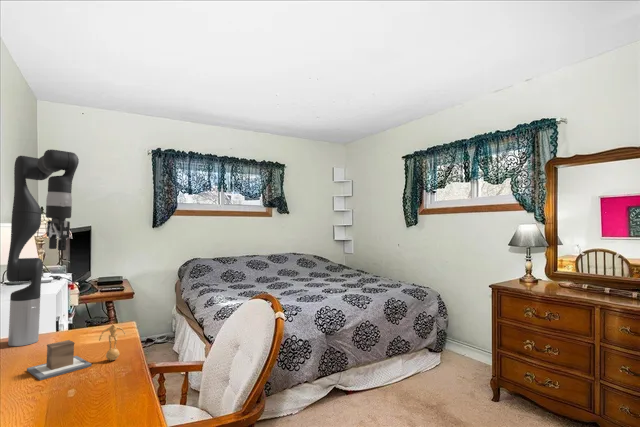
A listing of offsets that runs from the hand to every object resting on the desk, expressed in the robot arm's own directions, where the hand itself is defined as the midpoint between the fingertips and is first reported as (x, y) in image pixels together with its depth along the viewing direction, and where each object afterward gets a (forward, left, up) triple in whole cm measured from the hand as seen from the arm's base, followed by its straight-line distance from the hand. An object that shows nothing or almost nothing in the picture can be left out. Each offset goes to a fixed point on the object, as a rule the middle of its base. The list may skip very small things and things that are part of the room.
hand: (57, 249), depth 129 cm
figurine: (+21, +11, -38) cm, 45 cm away
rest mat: (+16, -3, -38) cm, 41 cm away
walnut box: (+16, -3, -37) cm, 40 cm away
